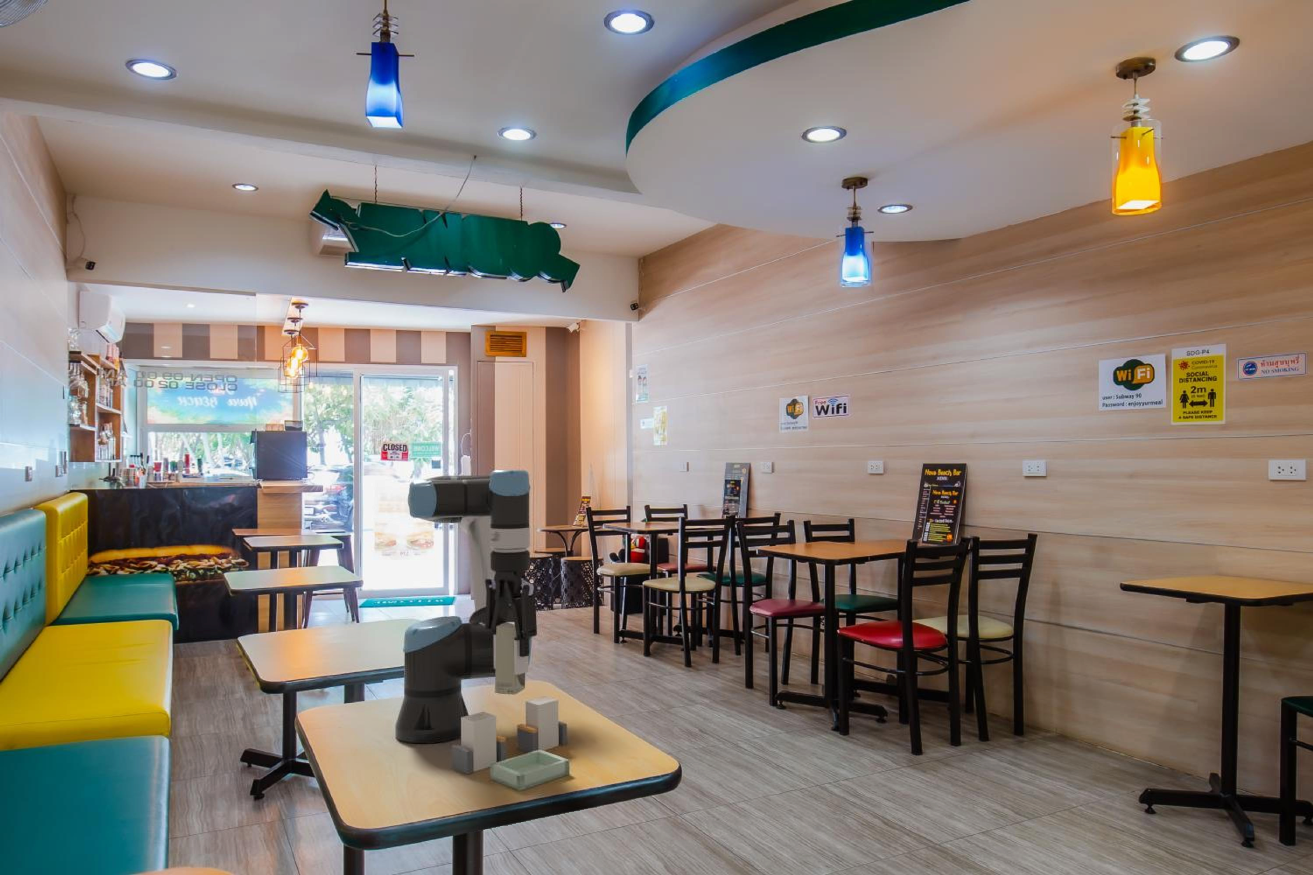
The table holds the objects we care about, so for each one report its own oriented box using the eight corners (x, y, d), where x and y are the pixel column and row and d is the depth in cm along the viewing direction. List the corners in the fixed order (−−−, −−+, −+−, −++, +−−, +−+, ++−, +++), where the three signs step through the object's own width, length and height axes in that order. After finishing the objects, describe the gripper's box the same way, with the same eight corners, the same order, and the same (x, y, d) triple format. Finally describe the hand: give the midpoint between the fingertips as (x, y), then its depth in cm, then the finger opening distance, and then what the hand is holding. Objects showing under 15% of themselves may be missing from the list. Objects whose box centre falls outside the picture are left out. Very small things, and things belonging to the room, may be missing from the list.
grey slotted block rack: (451, 767, 161) (451, 742, 161) (551, 738, 178) (550, 715, 178) (467, 774, 158) (467, 748, 158) (566, 743, 174) (566, 720, 174)
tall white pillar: (525, 747, 173) (525, 701, 173) (546, 741, 176) (545, 696, 176) (538, 751, 170) (538, 704, 170) (558, 745, 173) (558, 699, 174)
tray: (490, 778, 155) (490, 764, 155) (539, 762, 163) (539, 749, 163) (519, 790, 149) (519, 775, 149) (569, 773, 157) (569, 759, 157)
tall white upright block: (461, 766, 162) (461, 717, 162) (484, 759, 166) (483, 711, 166) (473, 771, 159) (473, 721, 159) (496, 764, 163) (496, 715, 163)
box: (515, 695, 165) (516, 627, 166) (493, 693, 166) (495, 625, 167) (526, 688, 170) (527, 622, 171) (505, 686, 171) (506, 620, 172)
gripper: (466, 547, 173) (466, 665, 172) (524, 554, 160) (525, 682, 159) (497, 544, 178) (498, 659, 178) (556, 551, 165) (557, 674, 164)
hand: (510, 669), depth 168 cm, fingers closed on box, 6 cm apart
